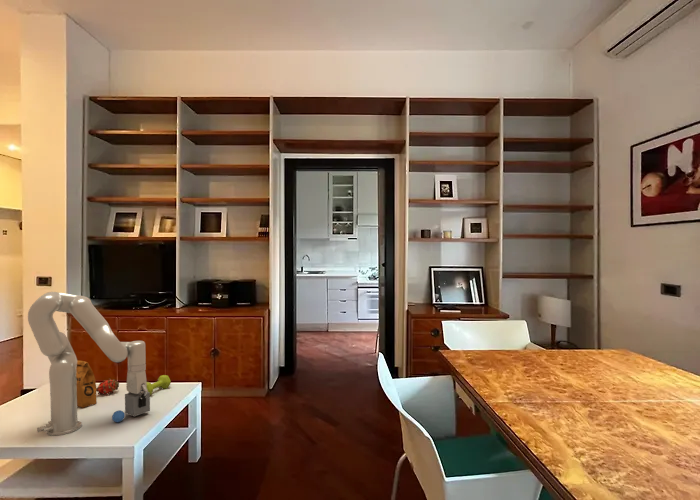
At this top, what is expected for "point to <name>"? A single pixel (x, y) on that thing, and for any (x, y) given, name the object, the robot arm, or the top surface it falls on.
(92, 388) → the coffee package
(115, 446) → the top surface
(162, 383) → the dumbbell
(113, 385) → the dragon fruit
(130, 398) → the grey square block
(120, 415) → the ball
